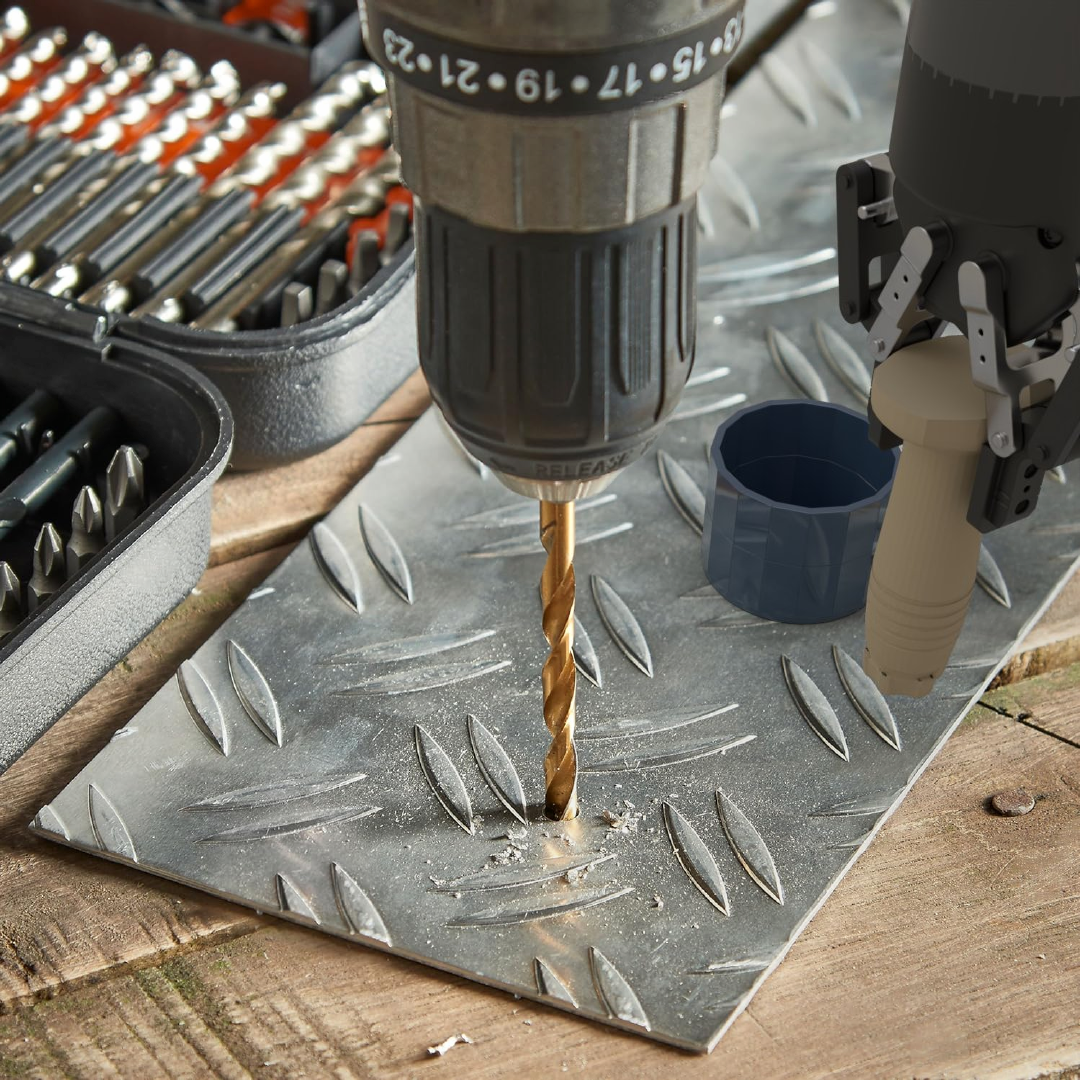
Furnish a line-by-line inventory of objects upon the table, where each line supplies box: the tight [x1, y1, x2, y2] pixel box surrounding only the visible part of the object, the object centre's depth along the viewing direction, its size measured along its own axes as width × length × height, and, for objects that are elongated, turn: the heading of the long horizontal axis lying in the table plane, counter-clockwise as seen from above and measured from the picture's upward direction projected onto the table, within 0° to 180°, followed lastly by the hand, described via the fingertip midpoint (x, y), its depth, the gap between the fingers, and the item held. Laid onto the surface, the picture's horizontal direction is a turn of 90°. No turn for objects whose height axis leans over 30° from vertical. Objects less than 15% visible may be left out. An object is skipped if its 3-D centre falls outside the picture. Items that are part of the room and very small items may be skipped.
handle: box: [862, 334, 1031, 699], centre depth 59 cm, size 5×6×15 cm
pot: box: [700, 397, 902, 625], centre depth 87 cm, size 10×10×8 cm
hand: (942, 477), depth 57 cm, fingers closed on handle, 5 cm apart
